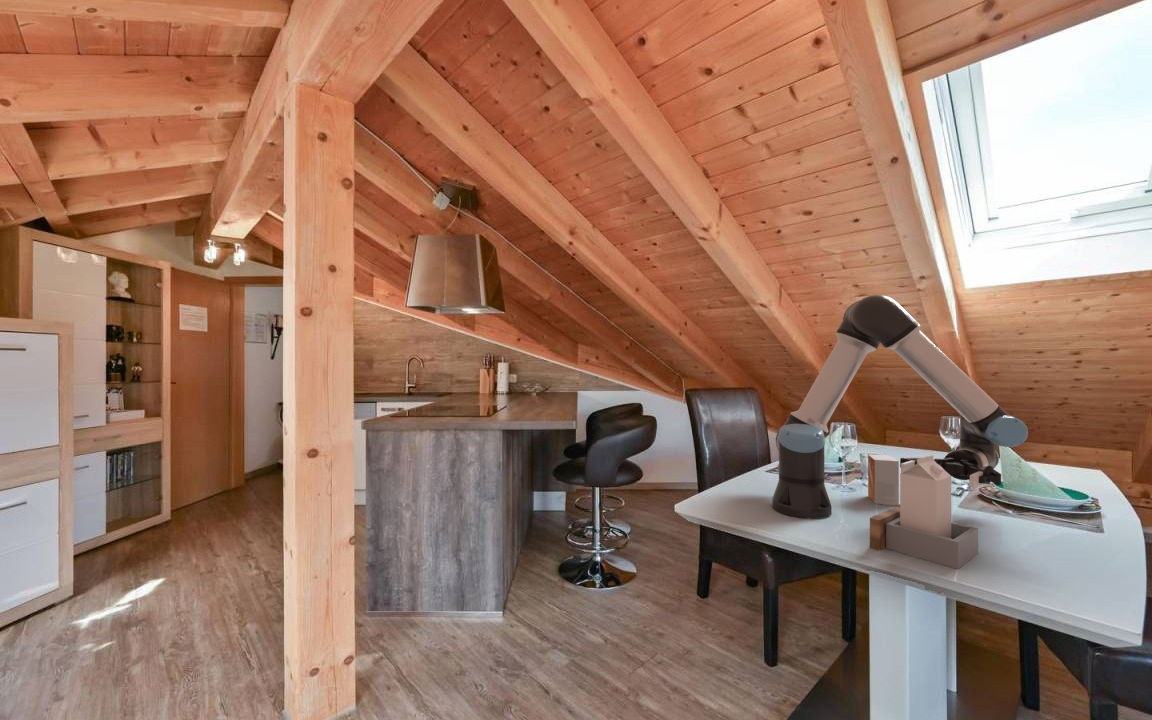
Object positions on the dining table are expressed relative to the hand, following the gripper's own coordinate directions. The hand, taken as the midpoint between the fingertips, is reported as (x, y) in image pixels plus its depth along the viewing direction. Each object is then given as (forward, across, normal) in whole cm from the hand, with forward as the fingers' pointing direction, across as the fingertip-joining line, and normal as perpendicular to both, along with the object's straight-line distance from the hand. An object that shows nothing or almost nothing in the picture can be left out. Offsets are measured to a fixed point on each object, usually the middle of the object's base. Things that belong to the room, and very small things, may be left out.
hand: (935, 475), depth 112 cm
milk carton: (+9, -1, -14) cm, 17 cm away
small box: (-23, +20, -15) cm, 34 cm away
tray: (+10, -2, -15) cm, 18 cm away
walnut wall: (+10, +5, -15) cm, 19 cm away
